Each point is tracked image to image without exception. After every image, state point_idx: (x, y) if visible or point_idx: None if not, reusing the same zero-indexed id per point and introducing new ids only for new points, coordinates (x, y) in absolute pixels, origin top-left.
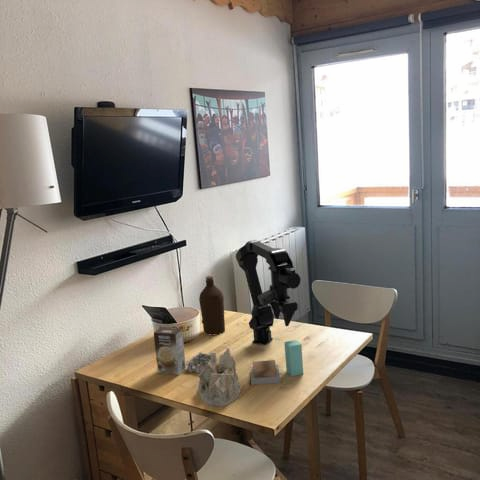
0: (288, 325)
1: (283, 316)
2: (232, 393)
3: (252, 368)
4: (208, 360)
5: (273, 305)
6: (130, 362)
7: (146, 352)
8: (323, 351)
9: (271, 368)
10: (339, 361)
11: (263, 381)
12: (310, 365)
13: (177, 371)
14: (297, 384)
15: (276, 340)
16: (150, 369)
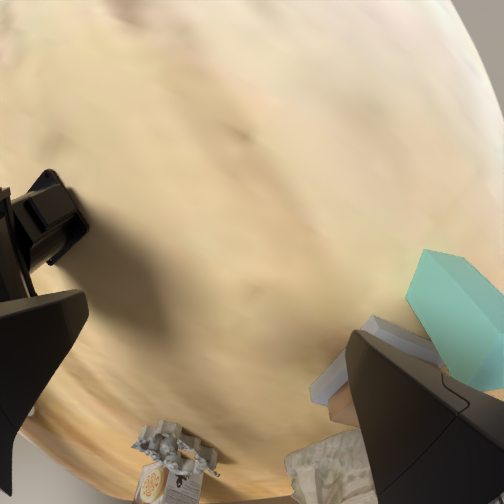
0: (366, 333)
1: (375, 467)
2: None
3: (327, 401)
4: (182, 447)
5: (4, 436)
6: (101, 472)
7: (61, 444)
8: (346, 24)
9: None
10: (477, 65)
11: None
12: (438, 186)
13: (201, 480)
14: None
15: (66, 155)
16: None
